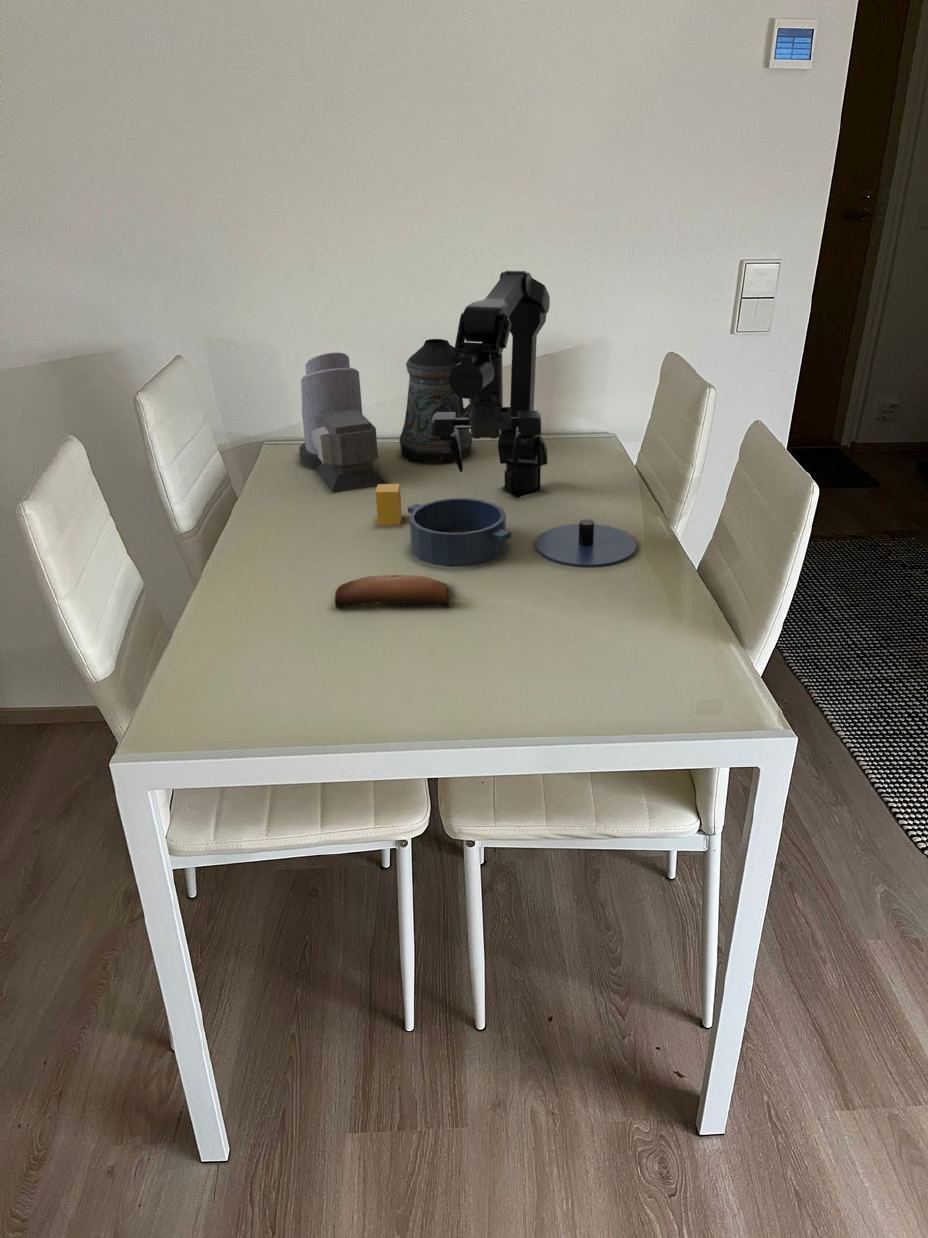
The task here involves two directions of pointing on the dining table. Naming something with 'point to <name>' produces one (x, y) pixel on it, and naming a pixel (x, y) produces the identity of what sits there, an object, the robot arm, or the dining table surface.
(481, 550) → the pot
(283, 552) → the dining table surface
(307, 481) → the dining table surface
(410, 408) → the beer stein
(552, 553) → the lid
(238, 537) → the dining table surface
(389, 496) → the block
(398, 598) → the sunglasses case
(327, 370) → the juicer
